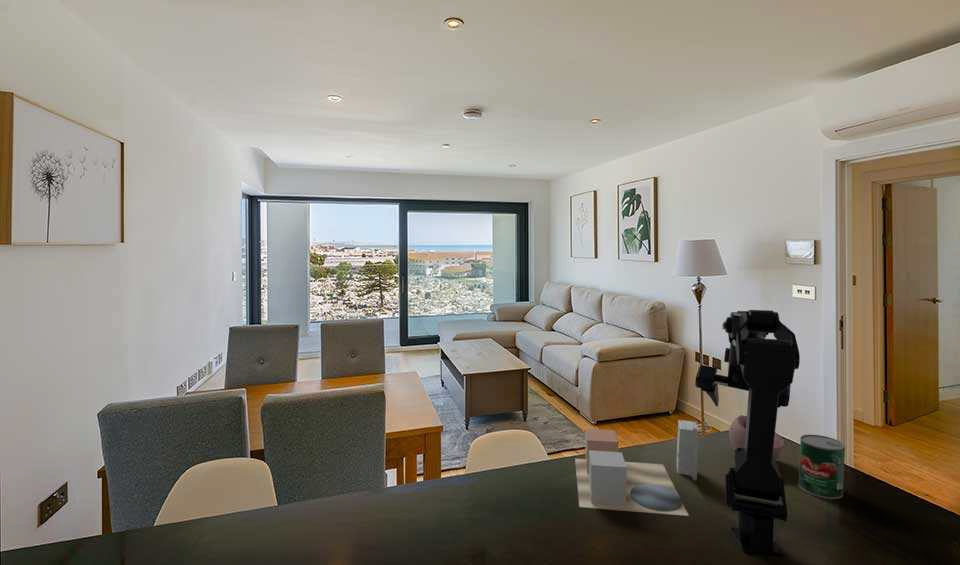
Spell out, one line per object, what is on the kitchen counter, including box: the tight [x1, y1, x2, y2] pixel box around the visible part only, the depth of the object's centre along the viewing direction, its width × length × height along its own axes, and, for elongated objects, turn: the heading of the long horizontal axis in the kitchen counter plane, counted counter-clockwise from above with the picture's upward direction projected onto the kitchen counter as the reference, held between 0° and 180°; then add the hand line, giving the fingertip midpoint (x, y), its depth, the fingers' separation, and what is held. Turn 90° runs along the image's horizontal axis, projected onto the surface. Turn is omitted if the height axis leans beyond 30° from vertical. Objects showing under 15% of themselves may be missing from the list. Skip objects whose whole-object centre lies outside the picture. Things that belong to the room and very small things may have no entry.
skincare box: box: [675, 419, 700, 482], centre depth 107 cm, size 6×4×12 cm
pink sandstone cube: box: [584, 428, 619, 474], centre depth 108 cm, size 7×7×8 cm
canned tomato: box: [797, 434, 846, 500], centre depth 99 cm, size 8×8×11 cm
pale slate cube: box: [589, 450, 627, 505], centre depth 96 cm, size 7×7×8 cm
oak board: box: [574, 458, 690, 517], centre depth 101 cm, size 22×21×2 cm
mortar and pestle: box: [728, 414, 786, 461], centre depth 113 cm, size 12×12×12 cm
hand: (738, 410), depth 109 cm, fingers open, 9 cm apart
